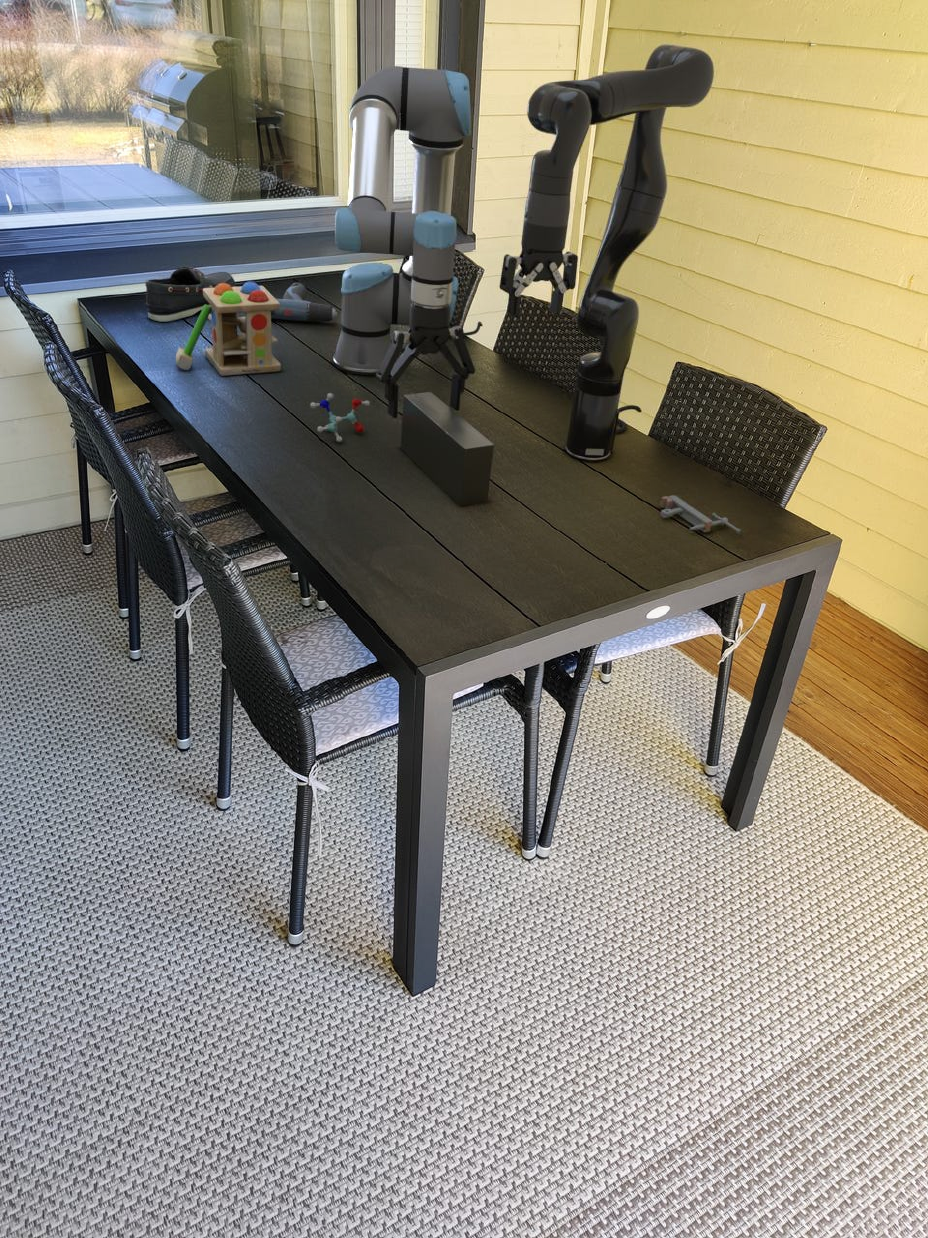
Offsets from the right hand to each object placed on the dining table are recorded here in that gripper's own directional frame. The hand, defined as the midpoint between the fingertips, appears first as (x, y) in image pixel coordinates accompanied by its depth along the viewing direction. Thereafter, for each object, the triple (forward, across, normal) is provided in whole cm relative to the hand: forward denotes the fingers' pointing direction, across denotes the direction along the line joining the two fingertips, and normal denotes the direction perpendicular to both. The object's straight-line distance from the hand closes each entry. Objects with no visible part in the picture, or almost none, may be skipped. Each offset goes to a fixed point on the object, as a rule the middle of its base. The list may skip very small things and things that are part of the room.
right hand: (534, 314), depth 175 cm
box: (+32, -13, +6) cm, 35 cm away
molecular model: (+32, -25, +30) cm, 51 cm away
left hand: (+23, -13, +15) cm, 31 cm away
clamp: (+32, +23, -27) cm, 48 cm away
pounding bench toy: (+32, -36, +74) cm, 88 cm away
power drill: (+32, -4, +106) cm, 111 cm away
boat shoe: (+32, -31, +118) cm, 127 cm away
